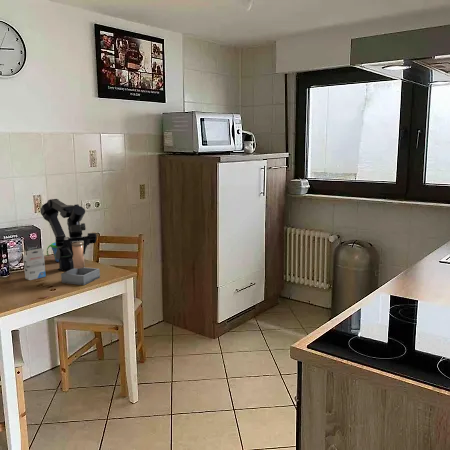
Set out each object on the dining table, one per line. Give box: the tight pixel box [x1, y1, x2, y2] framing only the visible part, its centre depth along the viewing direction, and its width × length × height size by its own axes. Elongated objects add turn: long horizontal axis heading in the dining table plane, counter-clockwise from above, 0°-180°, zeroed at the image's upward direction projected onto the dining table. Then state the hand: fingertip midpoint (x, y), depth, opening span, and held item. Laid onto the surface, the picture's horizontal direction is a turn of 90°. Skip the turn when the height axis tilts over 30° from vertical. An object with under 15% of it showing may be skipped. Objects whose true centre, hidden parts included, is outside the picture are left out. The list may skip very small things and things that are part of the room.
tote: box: [60, 267, 101, 286], centre depth 219 cm, size 13×13×4 cm
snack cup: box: [46, 241, 59, 263], centre depth 255 cm, size 16×10×10 cm
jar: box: [72, 241, 85, 269], centre depth 216 cm, size 5×5×12 cm
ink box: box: [22, 247, 46, 281], centre depth 223 cm, size 8×5×15 cm, turn 136°
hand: (78, 254), depth 215 cm, fingers closed on jar, 5 cm apart
